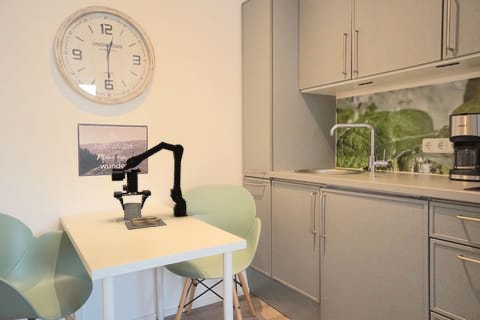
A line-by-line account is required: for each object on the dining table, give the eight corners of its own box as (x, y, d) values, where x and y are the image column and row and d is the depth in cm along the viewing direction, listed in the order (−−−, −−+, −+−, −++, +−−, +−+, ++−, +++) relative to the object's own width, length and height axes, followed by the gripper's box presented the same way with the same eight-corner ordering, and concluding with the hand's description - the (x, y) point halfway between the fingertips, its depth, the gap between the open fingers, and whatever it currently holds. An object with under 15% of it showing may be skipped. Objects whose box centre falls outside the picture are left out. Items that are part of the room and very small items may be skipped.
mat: (160, 219, 174) (160, 218, 174) (167, 226, 159) (167, 224, 159) (124, 223, 166) (124, 221, 166) (128, 229, 152) (128, 228, 152)
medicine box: (141, 218, 177) (141, 202, 177) (138, 220, 173) (138, 204, 173) (127, 218, 178) (127, 202, 178) (123, 220, 174) (123, 203, 173)
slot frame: (156, 220, 169) (156, 216, 169) (159, 223, 162) (159, 219, 162) (131, 222, 164) (131, 218, 164) (133, 226, 156) (133, 222, 156)
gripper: (147, 178, 186) (147, 206, 187) (112, 180, 178) (112, 208, 179) (151, 180, 176) (151, 209, 177) (114, 182, 168) (114, 212, 169)
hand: (132, 209), depth 175 cm, fingers open, 9 cm apart
